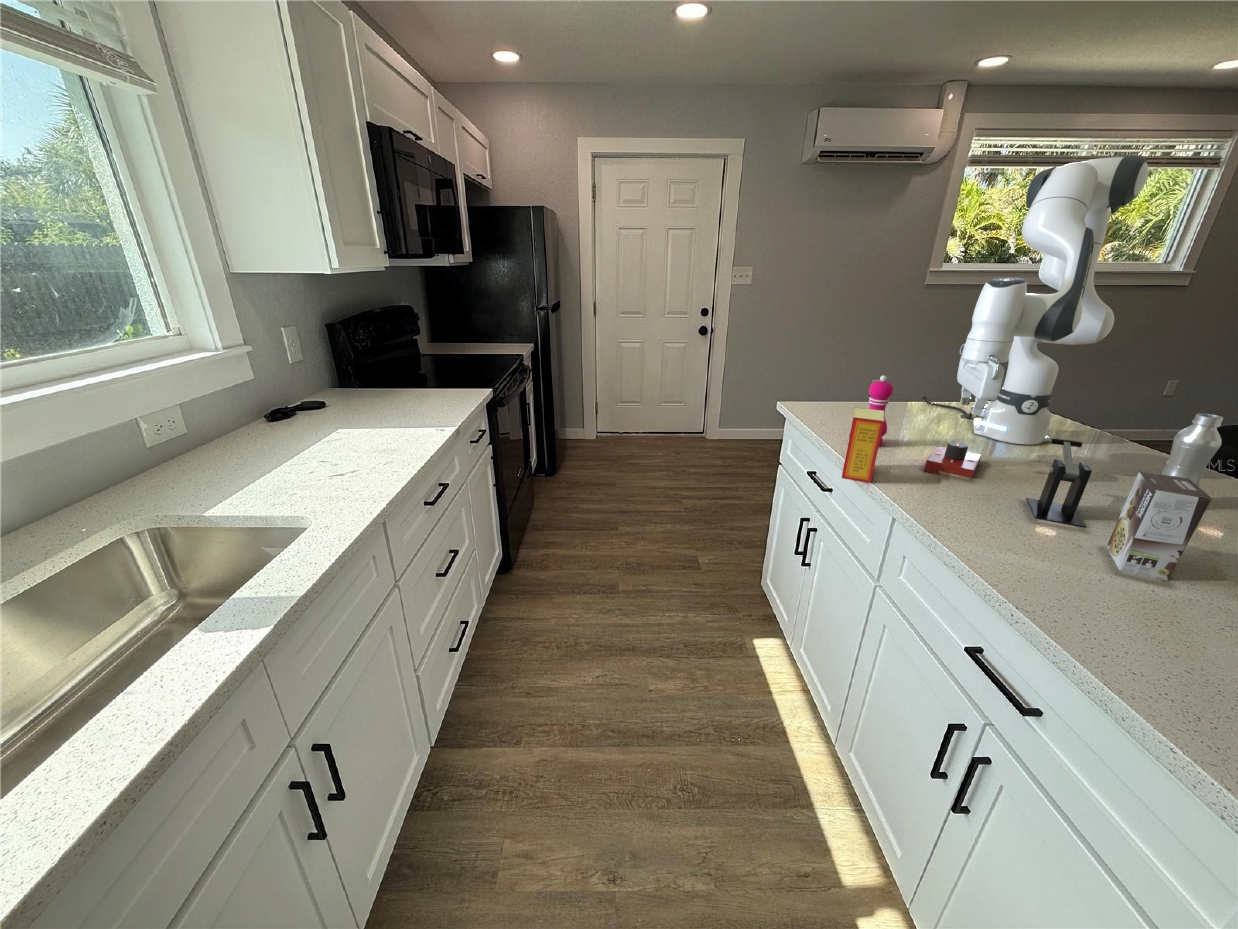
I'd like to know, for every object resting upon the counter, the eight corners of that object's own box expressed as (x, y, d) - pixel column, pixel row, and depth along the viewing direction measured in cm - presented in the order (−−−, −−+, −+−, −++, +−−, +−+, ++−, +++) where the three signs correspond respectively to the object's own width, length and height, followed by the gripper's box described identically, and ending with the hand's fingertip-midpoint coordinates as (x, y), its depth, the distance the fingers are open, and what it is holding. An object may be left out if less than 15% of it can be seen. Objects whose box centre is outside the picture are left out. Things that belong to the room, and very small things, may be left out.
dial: (946, 452, 128) (949, 439, 126) (966, 456, 125) (970, 442, 124) (942, 457, 125) (946, 443, 123) (963, 461, 122) (967, 447, 120)
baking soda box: (843, 464, 129) (855, 405, 122) (871, 468, 126) (884, 409, 120) (841, 478, 121) (853, 416, 114) (870, 483, 118) (884, 419, 112)
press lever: (1048, 442, 106) (1053, 434, 104) (1078, 446, 104) (1083, 438, 102) (1051, 479, 100) (1056, 471, 98) (1083, 484, 97) (1089, 476, 96)
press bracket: (1024, 502, 108) (1042, 453, 104) (1070, 510, 105) (1091, 459, 100) (1033, 522, 100) (1053, 469, 96) (1084, 531, 97) (1107, 477, 92)
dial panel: (934, 456, 134) (937, 445, 132) (978, 465, 127) (981, 454, 126) (923, 470, 125) (926, 459, 123) (970, 481, 118) (974, 469, 117)
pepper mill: (887, 448, 139) (902, 378, 131) (859, 446, 141) (873, 377, 133) (879, 439, 146) (894, 373, 138) (854, 438, 147) (866, 372, 139)
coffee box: (1168, 586, 81) (1214, 499, 74) (1116, 573, 84) (1155, 489, 78) (1151, 559, 88) (1191, 477, 82) (1103, 549, 91) (1138, 469, 85)
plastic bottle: (1183, 512, 103) (1228, 422, 96) (1141, 499, 109) (1180, 413, 101) (1195, 506, 106) (1240, 417, 98) (1153, 493, 112) (1192, 409, 104)
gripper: (1018, 360, 104) (999, 422, 109) (988, 346, 122) (973, 400, 127) (983, 358, 106) (966, 419, 111) (959, 345, 124) (945, 398, 129)
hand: (969, 409), depth 119 cm, fingers open, 8 cm apart
